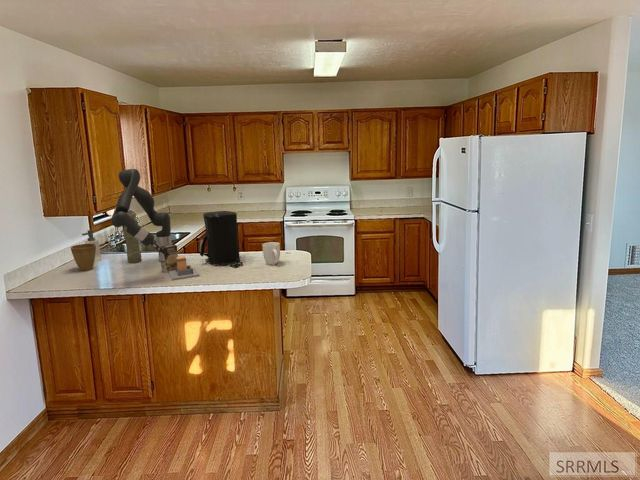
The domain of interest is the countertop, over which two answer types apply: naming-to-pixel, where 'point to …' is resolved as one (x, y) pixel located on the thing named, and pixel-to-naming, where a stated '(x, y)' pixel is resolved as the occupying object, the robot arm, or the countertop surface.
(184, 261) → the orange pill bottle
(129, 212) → the thermos
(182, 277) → the end holder
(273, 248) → the mug
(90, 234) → the soap dispenser
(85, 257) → the plant pot
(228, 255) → the coffee maker
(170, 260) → the coffee box
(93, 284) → the countertop surface
